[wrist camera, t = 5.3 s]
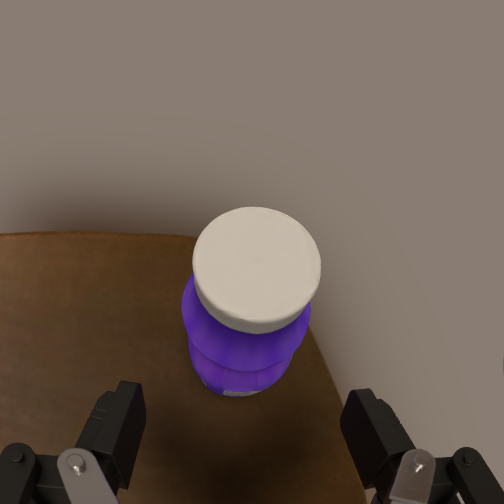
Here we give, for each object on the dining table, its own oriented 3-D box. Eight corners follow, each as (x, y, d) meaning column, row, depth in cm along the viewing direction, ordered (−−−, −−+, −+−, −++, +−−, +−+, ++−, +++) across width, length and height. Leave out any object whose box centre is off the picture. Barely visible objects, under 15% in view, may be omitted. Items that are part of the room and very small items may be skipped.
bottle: (266, 400, 22) (357, 373, 7) (196, 395, 22) (148, 363, 7) (268, 319, 26) (334, 179, 11) (204, 314, 26) (187, 163, 11)
